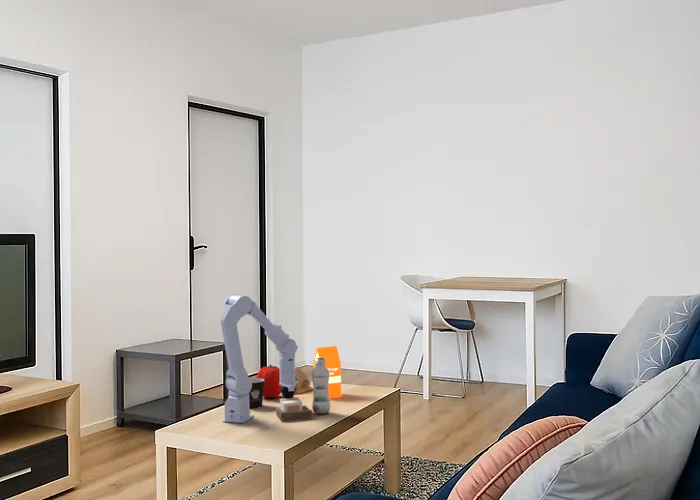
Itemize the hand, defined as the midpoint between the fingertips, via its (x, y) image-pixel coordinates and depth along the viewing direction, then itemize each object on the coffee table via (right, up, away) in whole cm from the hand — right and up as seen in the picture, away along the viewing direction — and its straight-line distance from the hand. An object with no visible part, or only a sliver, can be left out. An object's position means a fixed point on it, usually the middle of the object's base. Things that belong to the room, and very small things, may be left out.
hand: (288, 406), depth 267 cm
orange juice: (+14, -1, +23) cm, 27 cm away
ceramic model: (+1, -1, +35) cm, 35 cm away
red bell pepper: (-9, -1, +23) cm, 24 cm away
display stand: (+3, -2, -9) cm, 9 cm away
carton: (+2, -2, -5) cm, 6 cm away
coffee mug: (-15, -2, +8) cm, 17 cm away
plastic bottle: (+13, -1, -5) cm, 14 cm away
